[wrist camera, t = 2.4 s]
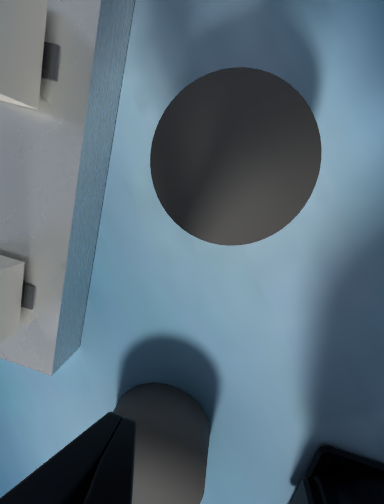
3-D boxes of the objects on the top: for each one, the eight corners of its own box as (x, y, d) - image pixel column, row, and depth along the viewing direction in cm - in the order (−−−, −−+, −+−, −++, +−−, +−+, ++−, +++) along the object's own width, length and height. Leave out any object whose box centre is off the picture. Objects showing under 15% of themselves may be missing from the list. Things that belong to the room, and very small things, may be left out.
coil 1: (221, 402, 15) (218, 452, 12) (195, 477, 17) (187, 538, 14) (124, 370, 16) (99, 410, 13) (108, 445, 17) (82, 496, 14)
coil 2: (319, 116, 11) (349, 89, 8) (274, 247, 13) (286, 264, 10) (185, 85, 12) (170, 50, 9) (157, 215, 13) (136, 222, 10)
